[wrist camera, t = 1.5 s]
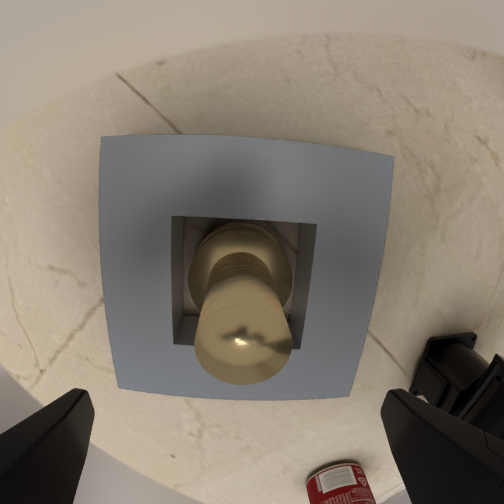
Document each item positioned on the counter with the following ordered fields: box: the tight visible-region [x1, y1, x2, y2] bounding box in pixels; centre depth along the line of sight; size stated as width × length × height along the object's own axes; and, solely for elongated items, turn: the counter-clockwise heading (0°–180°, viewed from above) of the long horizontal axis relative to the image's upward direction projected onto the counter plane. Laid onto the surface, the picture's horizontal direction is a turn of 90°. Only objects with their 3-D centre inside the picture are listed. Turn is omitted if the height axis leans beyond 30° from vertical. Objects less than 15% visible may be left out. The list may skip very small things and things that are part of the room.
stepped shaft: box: [188, 222, 292, 385], centre depth 16 cm, size 6×6×10 cm
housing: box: [99, 134, 394, 400], centre depth 19 cm, size 16×16×4 cm
